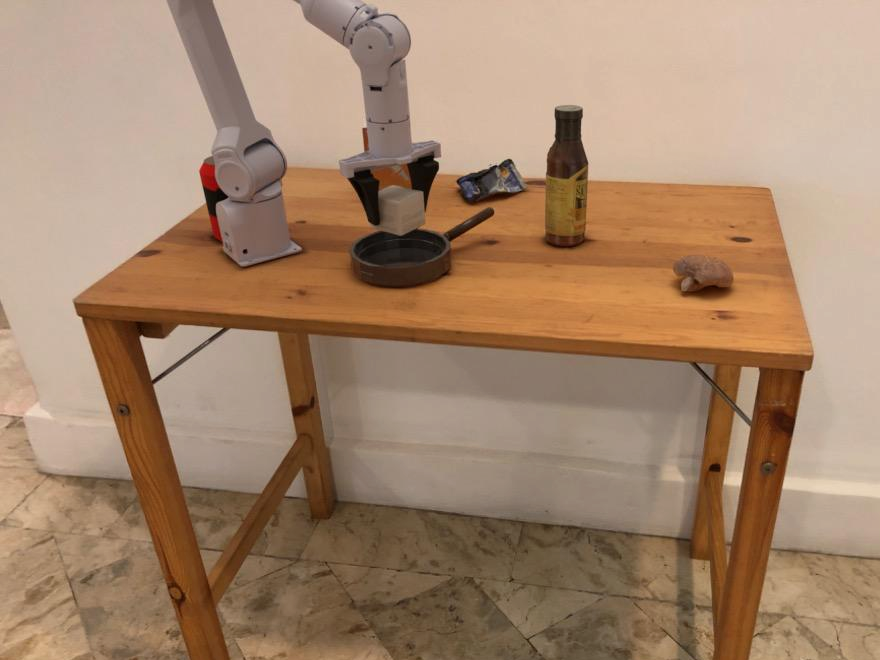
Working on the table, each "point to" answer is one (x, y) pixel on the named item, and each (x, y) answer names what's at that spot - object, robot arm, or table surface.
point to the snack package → (491, 181)
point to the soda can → (211, 193)
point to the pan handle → (469, 224)
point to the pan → (400, 257)
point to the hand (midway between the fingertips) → (397, 217)
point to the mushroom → (702, 272)
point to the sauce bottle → (566, 180)
